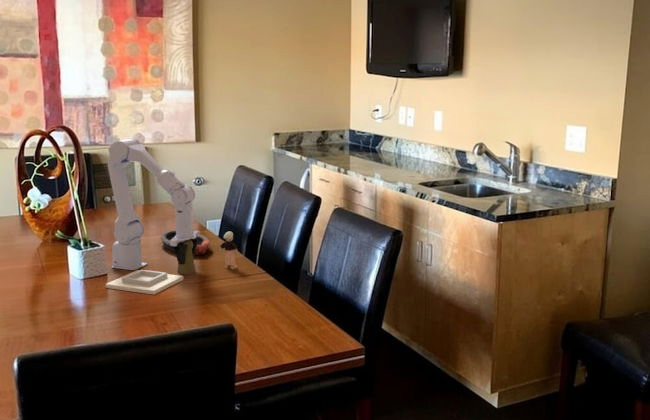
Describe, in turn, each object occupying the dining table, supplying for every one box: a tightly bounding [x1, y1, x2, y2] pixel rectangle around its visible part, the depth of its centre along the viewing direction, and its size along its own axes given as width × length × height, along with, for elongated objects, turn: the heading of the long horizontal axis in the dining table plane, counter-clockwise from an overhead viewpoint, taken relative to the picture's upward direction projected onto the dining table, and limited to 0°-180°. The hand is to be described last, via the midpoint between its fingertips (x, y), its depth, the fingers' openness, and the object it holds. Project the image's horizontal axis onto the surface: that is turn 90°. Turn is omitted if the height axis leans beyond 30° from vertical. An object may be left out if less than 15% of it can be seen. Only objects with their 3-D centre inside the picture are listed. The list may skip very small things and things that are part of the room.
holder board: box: [105, 269, 184, 295], centre depth 216 cm, size 18×16×3 cm
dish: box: [160, 229, 211, 256], centre depth 258 cm, size 16×31×5 cm, turn 32°
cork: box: [177, 240, 196, 275], centre depth 228 cm, size 6×6×11 cm
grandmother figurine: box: [219, 231, 239, 270], centre depth 233 cm, size 8×4×13 cm, turn 71°
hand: (186, 261), depth 229 cm, fingers closed on cork, 5 cm apart
